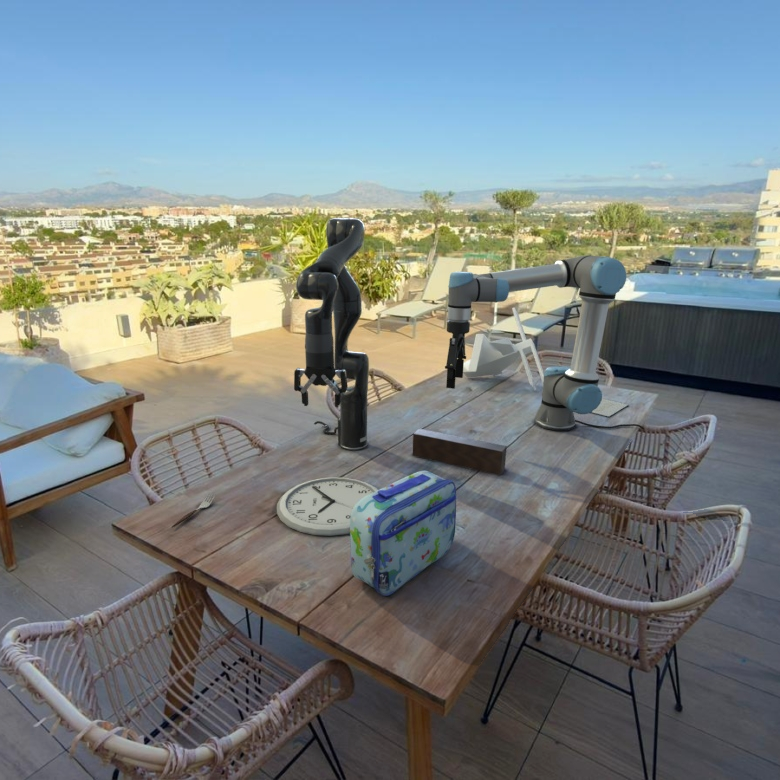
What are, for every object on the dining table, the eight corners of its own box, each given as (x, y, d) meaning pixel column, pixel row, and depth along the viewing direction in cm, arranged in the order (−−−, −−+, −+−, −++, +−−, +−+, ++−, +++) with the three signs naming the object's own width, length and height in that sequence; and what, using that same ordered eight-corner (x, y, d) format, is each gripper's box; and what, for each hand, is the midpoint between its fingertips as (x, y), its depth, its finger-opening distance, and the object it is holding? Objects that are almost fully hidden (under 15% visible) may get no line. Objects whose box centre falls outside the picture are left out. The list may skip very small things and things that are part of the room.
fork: (167, 528, 130) (166, 521, 130) (209, 498, 145) (208, 492, 144) (175, 530, 130) (174, 523, 129) (216, 500, 144) (216, 494, 143)
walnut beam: (504, 469, 166) (506, 445, 164) (500, 475, 162) (502, 451, 160) (418, 450, 179) (419, 428, 177) (412, 455, 175) (413, 433, 172)
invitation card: (608, 416, 214) (573, 407, 224) (608, 416, 214) (573, 408, 224) (628, 404, 229) (594, 396, 238) (628, 405, 229) (594, 397, 238)
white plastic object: (482, 419, 265) (461, 396, 241) (463, 346, 287) (443, 319, 263) (553, 395, 253) (539, 368, 228) (528, 321, 275) (513, 290, 250)
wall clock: (392, 527, 129) (268, 531, 127) (391, 533, 130) (269, 537, 127) (383, 473, 158) (282, 475, 155) (383, 478, 158) (282, 480, 156)
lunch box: (378, 608, 104) (379, 516, 98) (343, 583, 112) (342, 495, 105) (459, 554, 122) (465, 473, 116) (425, 535, 129) (428, 458, 123)
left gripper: (348, 345, 142) (349, 402, 147) (296, 344, 143) (299, 400, 148) (343, 352, 135) (344, 411, 140) (289, 351, 136) (292, 409, 141)
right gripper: (454, 313, 183) (451, 372, 190) (438, 325, 161) (435, 391, 167) (476, 315, 181) (472, 374, 187) (462, 327, 158) (458, 394, 165)
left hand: (321, 405), depth 144 cm, fingers open, 8 cm apart
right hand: (454, 382), depth 177 cm, fingers open, 13 cm apart
